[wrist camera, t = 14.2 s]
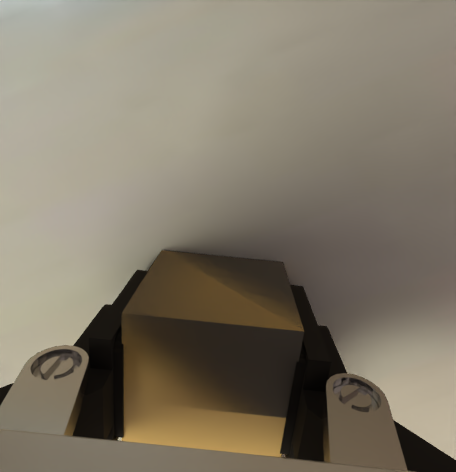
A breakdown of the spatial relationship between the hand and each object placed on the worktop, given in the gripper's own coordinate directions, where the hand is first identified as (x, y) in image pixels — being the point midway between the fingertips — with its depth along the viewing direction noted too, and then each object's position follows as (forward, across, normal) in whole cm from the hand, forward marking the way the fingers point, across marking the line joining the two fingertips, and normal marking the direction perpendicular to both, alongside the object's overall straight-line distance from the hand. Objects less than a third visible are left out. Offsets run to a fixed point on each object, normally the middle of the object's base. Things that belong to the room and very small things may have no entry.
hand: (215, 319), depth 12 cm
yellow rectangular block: (0, 0, +5) cm, 5 cm away
